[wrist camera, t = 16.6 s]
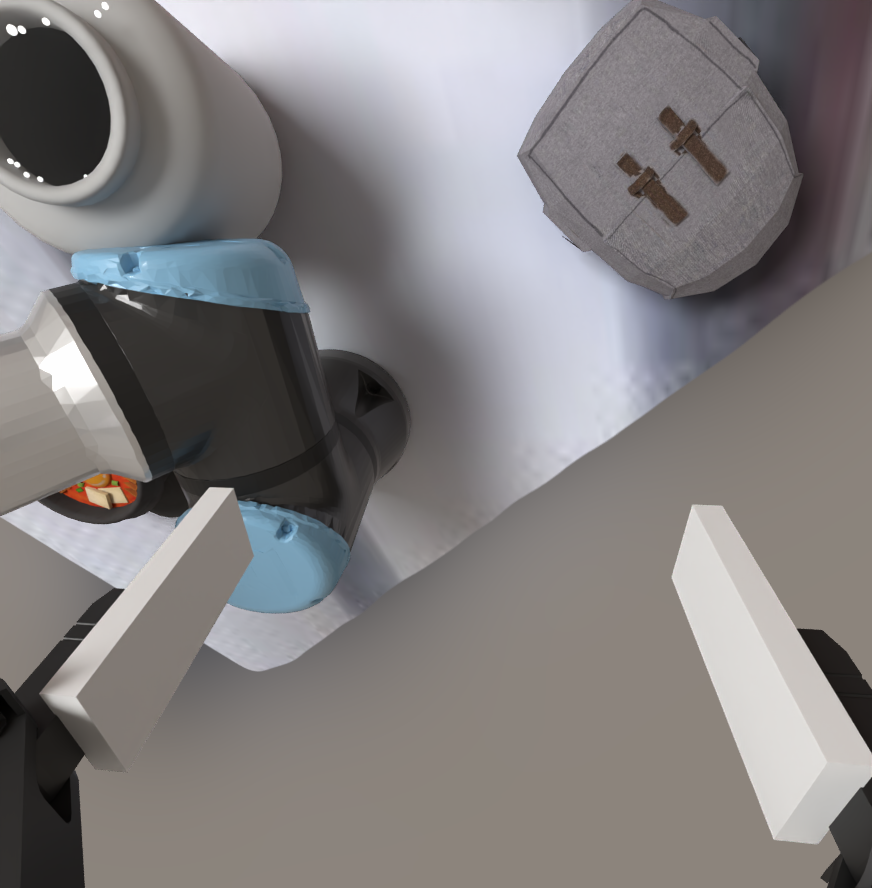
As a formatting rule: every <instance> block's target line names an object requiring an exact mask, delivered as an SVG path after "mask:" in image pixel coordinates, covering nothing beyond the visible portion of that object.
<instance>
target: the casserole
mask: <svg viewBox="0 0 872 888" xmlns="http://www.w3.org/2000/svg"><path fill="white" fill-rule="evenodd" d="M38 501H39V502H40V503H41V504H43V505H45V506H46V507H48V508H50V509H51V510H53V511H55V512H57V513H59V514H61V515H64V516H66V517H68V518H71V519H75V520H78V521H81V522H86V523H92V524H111V523H117V522H120V521H122V520H125V519H130V518H136V517H138V516H141V515H143V514H146V513H147V512H148V511H150V512H153V513H155V514H158V515H160V516H165V517H180V516H181V515H182V514H183V513H184V512H185V511H186V510H187V509H189V505H188V501H187V499H186V497H185V495H184V493H183V491H182V489H181V486H180V484H179V482H178V480H177V478H176V476H175V474H174V472H173V471H171V472H169V473H167V474H164V475H162V476H160V477H158V478H155V479H153V480H151V481H149V482H142V481H138V480H134V479H130V478H126V477H122V476H118V475H114V474H99V475H97V476H94V477H92V478H90V479H87V480H85V481H82V482H80V483H78V484H75V485H73V486H71V487H68V488H66V489H64V490H61V491H59V492H57V493H54V494H52V495H49V496H47V497H45V498H42V499H40V500H38Z"/></svg>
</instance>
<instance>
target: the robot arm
mask: <svg viewBox="0 0 872 888" xmlns="http://www.w3.org/2000/svg"><path fill="white" fill-rule="evenodd" d="M71 260H72V268H71V273H72V275H73V276H74V278H76V279H79V281H78V282H76V283H73V284H69V285H65V286H61V287H57V288H53V289H49V290H45V291H41V292H40V294H39V296H38V298H37V300H36V302H35V304H34V306H33V308H32V310H31V312H30V314H29V316H28V318H27V320H26V322H25V324H24V325H23V326H22V327H20V328H18V329H17V330H15V331H12V332H8V333H5V334H1V335H0V516H2V515H5V514H7V513H9V512H12V511H14V510H16V509H19V508H21V507H23V506H26V505H28V504H31V503H33V502H35V501H38V500H40V499H42V498H45V497H47V496H49V495H52V494H54V493H57V492H59V491H61V490H64V489H66V488H68V487H71V486H73V485H75V484H78V483H80V482H82V481H85V480H87V479H90V478H92V477H94V476H97V475H99V474H114V475H118V476H122V477H126V478H130V479H134V480H138V481H142V482H149V481H151V480H153V479H155V478H158V477H160V476H162V475H164V474H167V473H169V472H171V471H173V472H174V474H175V476H176V478H177V480H178V482H179V484H180V486H181V489H182V491H183V493H184V495H185V497H186V499H187V501H188V505H189V509H187V510H186V511H185V512H184V513H183V514H182V515H181V516H180V517H179V518H178V519H177V521H176V525H175V530H174V531H173V532H172V533H171V534H170V536H169V537H168V538H167V539H166V540H165V542H164V543H163V544H162V545H161V547H160V548H159V549H158V550H157V551H156V553H155V554H154V555H153V556H152V557H151V559H150V560H149V561H148V562H147V563H146V565H145V566H144V567H143V568H142V570H141V571H140V572H139V573H138V574H137V576H136V577H135V578H134V579H133V580H132V582H131V583H130V584H129V585H128V586H127V588H126V589H116V588H114V589H112V590H111V591H109V592H108V593H107V594H106V595H104V596H103V597H101V598H100V599H98V600H97V601H96V602H94V603H93V604H92V605H91V606H90V607H89V608H88V610H87V611H86V612H85V613H84V614H83V615H82V617H81V618H80V619H79V620H78V621H77V624H76V626H73V627H72V628H71V629H70V630H69V631H68V633H67V634H66V635H65V636H64V639H63V641H60V642H59V643H58V644H57V645H56V646H55V647H54V649H53V650H52V651H51V652H50V653H49V654H48V656H47V657H46V658H45V659H44V660H43V661H42V663H41V664H40V665H39V666H38V667H37V668H36V669H35V671H34V672H33V673H32V674H31V675H30V676H29V677H28V679H27V680H26V681H25V682H24V683H23V684H22V686H21V687H20V688H19V689H18V690H17V691H16V692H15V693H14V692H13V691H12V690H11V689H10V687H9V686H8V685H7V683H6V682H5V681H4V680H3V679H1V678H0V888H85V883H84V865H83V848H82V831H81V813H80V796H79V780H78V777H77V774H76V771H75V768H76V767H77V765H78V763H79V762H80V761H81V759H82V758H83V756H84V755H85V756H86V758H87V759H88V760H89V762H90V763H91V764H92V766H93V767H94V768H95V769H98V770H108V771H117V772H128V771H129V769H130V767H131V766H132V764H133V762H134V761H135V759H136V757H137V756H138V754H139V752H140V750H141V748H142V747H143V745H144V743H145V741H146V740H147V738H148V737H149V735H150V733H151V732H152V730H153V728H154V726H155V725H156V723H157V721H158V720H159V718H160V716H161V714H162V713H163V711H164V709H165V708H166V706H167V704H168V702H169V701H170V699H171V697H172V696H173V694H174V692H175V690H176V689H177V687H178V685H179V684H180V682H181V680H182V678H183V677H184V675H185V673H186V672H187V670H188V668H189V666H190V665H191V663H192V661H193V660H194V658H195V656H196V655H197V653H198V651H199V649H200V648H201V646H202V644H203V643H204V641H205V639H206V637H207V636H208V634H209V632H210V631H211V629H212V627H213V625H214V624H215V622H216V620H217V619H218V617H219V615H220V613H221V612H222V610H223V608H224V607H225V605H226V603H228V604H230V605H232V606H235V607H238V608H241V609H245V610H249V611H254V612H261V613H291V612H297V611H301V610H304V609H307V608H310V607H312V606H314V605H316V604H318V603H320V602H321V601H322V600H323V599H324V598H325V597H327V596H328V595H329V594H330V593H331V592H332V591H333V589H334V588H335V586H336V584H337V582H338V580H339V579H340V577H341V575H342V573H343V571H344V569H345V568H346V566H347V565H348V562H349V560H350V556H351V554H350V552H351V549H352V546H353V543H354V540H355V537H356V535H357V532H358V529H359V526H360V523H361V520H362V517H363V515H364V512H365V509H366V506H367V503H368V500H369V497H370V494H371V492H372V488H373V486H374V484H375V483H376V482H377V481H378V480H379V479H380V478H382V477H383V476H384V475H385V474H387V473H388V472H389V471H390V470H391V469H392V468H393V467H394V466H395V465H396V464H397V462H398V461H399V459H400V458H401V456H402V454H403V452H404V449H405V446H406V443H407V440H408V436H409V432H410V413H409V408H408V405H407V402H406V399H405V397H404V395H403V393H402V391H401V389H400V388H399V386H398V385H397V383H396V382H395V381H394V380H393V379H392V377H391V376H390V375H389V374H388V373H387V372H386V371H384V370H383V369H382V368H381V367H379V366H378V365H377V364H375V363H374V362H372V361H370V360H368V359H366V358H364V357H362V356H360V355H357V354H354V353H351V352H347V351H341V350H318V348H317V344H316V340H315V336H314V333H313V329H312V325H311V321H310V318H309V314H308V313H309V312H310V308H309V306H308V304H306V303H305V302H304V299H303V296H302V293H301V290H300V287H299V284H298V281H297V278H296V275H295V272H294V268H293V265H292V263H291V260H290V258H289V257H288V255H287V254H286V253H285V252H284V251H283V250H282V249H281V248H280V247H279V246H277V245H276V244H274V243H272V242H270V241H267V240H262V239H243V238H237V239H208V240H200V241H193V242H184V243H176V244H168V245H155V246H137V247H122V248H121V247H116V248H102V249H87V250H82V251H78V252H76V253H74V254H73V256H72V259H71ZM672 580H673V583H674V585H675V588H676V590H677V593H678V595H679V598H680V601H681V603H682V606H683V608H684V611H685V613H686V616H687V618H688V621H689V624H690V626H691V629H692V631H693V634H694V636H695V639H696V642H697V644H698V646H699V649H700V652H701V654H702V657H703V660H704V662H705V665H706V667H707V670H708V672H709V675H710V677H711V680H712V683H713V685H714V688H715V690H716V693H717V695H718V698H719V701H720V703H721V706H722V708H723V711H724V713H725V716H726V718H727V721H728V723H729V726H730V728H731V731H732V734H733V736H734V739H735V741H736V744H737V746H738V749H739V752H740V754H741V757H742V759H743V762H744V764H745V767H746V770H747V772H748V775H749V777H750V780H751V782H752V785H753V787H754V790H755V793H756V795H757V797H758V800H759V803H760V805H761V808H762V811H763V813H764V816H765V818H766V821H767V823H768V826H769V828H770V831H771V834H772V836H773V839H774V840H782V841H791V842H801V843H810V844H818V843H819V842H820V840H821V839H822V838H823V837H824V836H825V835H826V833H827V832H828V831H829V830H830V831H831V833H832V835H833V837H834V839H835V842H836V844H837V846H838V848H839V850H840V852H841V853H840V855H839V856H838V857H837V858H836V859H835V860H834V861H833V863H832V864H831V865H830V866H829V867H828V869H826V871H825V872H824V874H823V875H822V876H821V879H823V880H824V881H825V882H826V883H828V882H829V883H828V886H827V888H872V689H871V688H870V686H869V685H868V683H867V682H866V680H863V679H862V674H861V673H860V671H859V670H858V668H857V667H856V665H855V664H854V662H853V661H852V660H851V658H850V656H849V655H848V653H847V652H846V651H845V650H844V649H843V648H842V647H841V646H840V645H838V644H837V643H836V642H835V641H834V640H833V639H832V638H830V637H829V636H828V635H827V634H826V633H825V632H824V631H822V630H813V629H796V627H795V626H794V624H793V622H792V621H791V619H790V617H789V616H788V614H787V613H786V611H785V609H784V607H783V606H782V604H781V602H780V601H779V599H778V598H777V596H776V594H775V592H774V591H773V589H772V587H771V586H770V584H769V583H768V581H767V579H766V578H765V576H764V574H763V573H762V571H761V569H760V568H759V566H758V564H757V563H756V561H755V560H754V558H753V556H752V554H751V553H750V551H749V550H748V548H747V546H746V544H745V543H744V541H743V540H742V538H741V536H740V535H739V533H738V531H737V530H736V528H735V526H734V525H733V523H732V522H731V520H730V518H729V516H728V515H727V513H726V511H725V510H724V508H723V506H716V505H692V508H691V511H690V515H689V518H688V522H687V525H686V529H685V532H684V536H683V539H682V543H681V546H680V550H679V553H678V557H677V560H676V563H675V567H674V570H673V574H672Z"/></svg>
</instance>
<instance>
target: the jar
mask: <svg viewBox="0 0 872 888" xmlns="http://www.w3.org/2000/svg"><path fill="white" fill-rule="evenodd" d="M281 182H282V162H281V154H280V149H279V144H278V139H277V136H276V133H275V131H274V128H273V125H272V123H271V120H270V118H269V116H268V114H267V112H266V111H265V109H264V107H263V106H262V104H261V102H260V101H259V99H258V97H257V96H256V94H255V93H254V92H253V90H252V89H251V88H250V87H249V86H248V85H247V83H246V82H245V81H244V80H243V79H242V78H241V76H240V75H239V74H238V73H236V72H235V71H234V70H233V69H232V68H231V67H230V66H229V65H227V64H226V63H225V62H224V61H223V60H222V59H221V58H219V57H218V56H217V55H216V54H215V53H214V52H213V51H212V50H210V49H209V48H208V47H207V46H206V45H205V44H204V43H203V42H201V41H200V40H199V39H198V38H197V37H196V36H195V35H194V34H192V33H191V32H190V31H189V30H188V29H187V28H186V27H185V26H183V25H182V24H181V23H180V22H179V21H178V20H177V19H175V18H174V17H173V16H172V15H171V14H170V13H169V12H168V11H166V10H165V9H164V8H163V7H162V6H161V5H160V4H158V3H157V2H156V1H155V0H0V208H1V209H2V210H3V211H4V212H5V213H7V214H8V215H9V216H10V217H11V218H12V219H13V220H14V221H15V222H16V223H17V224H18V225H19V226H21V227H22V228H24V229H25V230H27V231H28V232H29V233H31V234H32V235H34V236H35V237H37V238H38V239H40V240H41V241H43V242H45V243H47V244H49V245H51V246H53V247H55V248H57V249H60V250H62V251H64V252H66V253H70V254H74V253H76V252H78V251H82V250H87V249H102V248H116V247H121V248H122V247H137V246H155V245H168V244H176V243H184V242H193V241H200V240H208V239H237V238H243V239H256V238H257V237H258V236H259V235H260V234H261V233H262V232H263V231H264V230H265V228H266V226H267V225H268V223H269V221H270V220H271V218H272V216H273V214H274V211H275V208H276V206H277V203H278V200H279V196H280V189H281Z"/></svg>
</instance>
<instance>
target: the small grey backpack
mask: <svg viewBox="0 0 872 888" xmlns="http://www.w3.org/2000/svg"><path fill="white" fill-rule="evenodd" d="M758 66H759V60H758V58H757V57H756V56H755V55H754V53H753V52H752V51H751V50H750V48H749V47H748V46H747V45H746V43H745V42H744V41H743V40H742V39H741V37H740V38H737V37H736V36H735V35H734V34H733V33H732V32H731V31H730V30H729V29H728V28H727V27H726V26H725V25H724V24H723V23H722V21H721V20H720V19H719V18H718V17H717V16H715V17H711V18H707V19H703V18H701V17H698V16H696V15H693V14H691V13H688V12H686V11H683V10H681V9H678V8H676V7H673V6H671V5H668V4H666V3H663V2H661V1H658V0H632V1H631V2H629V3H628V4H627V5H626V6H625V7H624V8H623V9H622V10H621V11H620V12H618V13H617V14H616V15H615V16H614V17H613V18H612V19H611V20H610V21H609V22H607V23H606V24H605V25H604V26H603V27H602V28H601V29H600V30H599V31H598V33H597V34H596V35H595V36H594V37H593V39H592V40H591V41H590V42H589V43H588V45H587V46H586V47H585V48H584V49H583V51H582V52H581V53H580V54H579V56H578V57H577V58H576V59H575V60H574V62H573V63H572V64H571V65H570V66H569V68H568V69H567V70H566V71H565V72H564V74H563V75H562V77H561V79H560V80H559V82H558V83H557V85H556V86H555V88H554V89H553V91H552V92H551V94H550V95H549V97H548V98H547V100H546V101H545V103H544V104H543V106H542V107H541V109H540V110H539V112H538V113H537V115H536V117H535V118H534V121H533V123H532V125H531V127H530V129H529V131H528V133H527V135H526V138H525V140H524V142H523V144H522V146H521V148H520V150H519V152H518V155H517V157H518V158H519V160H520V162H521V164H522V165H523V167H524V169H525V171H526V172H527V174H528V176H529V178H530V180H531V181H532V183H533V185H534V187H535V188H536V190H537V192H538V194H539V195H540V197H541V199H542V201H543V202H544V207H543V213H544V214H545V215H546V216H547V217H548V218H549V219H550V220H551V221H552V222H553V223H554V224H555V225H556V226H557V227H558V228H559V229H560V230H561V231H562V232H563V233H564V234H565V235H566V236H567V237H568V238H569V239H570V240H571V241H572V242H573V243H572V242H571V241H569V240H568V239H566V238H565V237H564V238H565V239H566V240H568V241H569V242H570V243H572V244H573V245H575V246H576V247H577V248H579V249H580V250H581V251H583V252H586V251H590V250H593V251H594V252H595V253H596V254H597V255H598V256H600V257H601V258H602V259H603V260H604V261H605V262H606V263H607V264H609V265H610V266H611V267H612V268H613V269H614V270H615V271H616V272H617V273H619V274H620V275H621V276H622V277H623V278H624V279H625V280H627V281H628V282H631V283H634V284H637V285H640V286H643V287H645V288H648V289H650V290H652V291H655V292H657V293H659V294H661V295H663V297H664V299H673V298H679V297H684V296H690V295H695V294H701V293H706V292H712V291H715V290H717V289H718V288H720V287H721V286H723V285H724V284H726V283H728V282H729V281H731V280H732V279H734V278H736V277H737V276H739V275H740V274H742V273H743V272H745V271H747V270H748V269H750V268H751V267H753V266H755V265H756V264H757V263H758V261H759V260H760V259H761V258H762V256H763V255H764V254H765V253H766V251H767V250H768V249H769V248H770V246H771V245H772V244H773V243H774V241H775V240H776V239H777V238H778V236H779V235H780V234H781V233H782V231H783V230H784V229H785V228H786V226H787V225H788V224H789V221H790V217H791V214H792V211H793V207H794V204H795V201H796V198H797V194H798V191H799V188H800V184H801V181H802V178H803V173H799V172H798V167H797V163H796V159H795V154H794V150H793V145H792V141H791V136H790V132H789V127H788V123H787V120H786V119H785V117H784V115H783V114H782V112H781V111H780V109H779V108H778V106H777V104H776V103H775V101H774V100H773V98H772V97H771V95H770V93H769V92H768V90H767V89H766V87H765V85H764V84H763V82H762V81H761V79H760V78H759V76H758V74H757V73H756V72H757V70H758Z"/></svg>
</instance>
